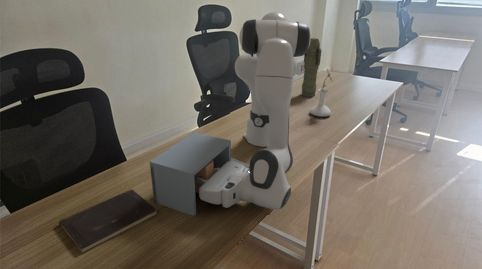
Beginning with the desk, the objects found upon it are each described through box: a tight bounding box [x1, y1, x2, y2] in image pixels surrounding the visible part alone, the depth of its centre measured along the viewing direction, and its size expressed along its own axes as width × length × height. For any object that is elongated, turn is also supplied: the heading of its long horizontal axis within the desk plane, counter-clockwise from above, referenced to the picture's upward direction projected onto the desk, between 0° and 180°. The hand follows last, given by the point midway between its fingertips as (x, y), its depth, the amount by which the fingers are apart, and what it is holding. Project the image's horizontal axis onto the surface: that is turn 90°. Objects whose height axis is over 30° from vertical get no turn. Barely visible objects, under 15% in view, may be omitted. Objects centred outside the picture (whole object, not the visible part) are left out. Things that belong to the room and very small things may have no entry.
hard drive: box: [231, 156, 250, 169], centre depth 128 cm, size 2×8×12 cm
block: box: [194, 160, 214, 194], centre depth 109 cm, size 4×4×11 cm
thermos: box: [301, 37, 322, 98], centre depth 203 cm, size 9×12×35 cm
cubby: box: [149, 131, 232, 217], centre depth 110 cm, size 24×15×15 cm, turn 154°
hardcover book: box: [58, 188, 158, 253], centre depth 98 cm, size 16×23×2 cm
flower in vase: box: [309, 68, 334, 118], centre depth 175 cm, size 13×11×25 cm
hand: (202, 174), depth 109 cm, fingers closed on block, 4 cm apart
